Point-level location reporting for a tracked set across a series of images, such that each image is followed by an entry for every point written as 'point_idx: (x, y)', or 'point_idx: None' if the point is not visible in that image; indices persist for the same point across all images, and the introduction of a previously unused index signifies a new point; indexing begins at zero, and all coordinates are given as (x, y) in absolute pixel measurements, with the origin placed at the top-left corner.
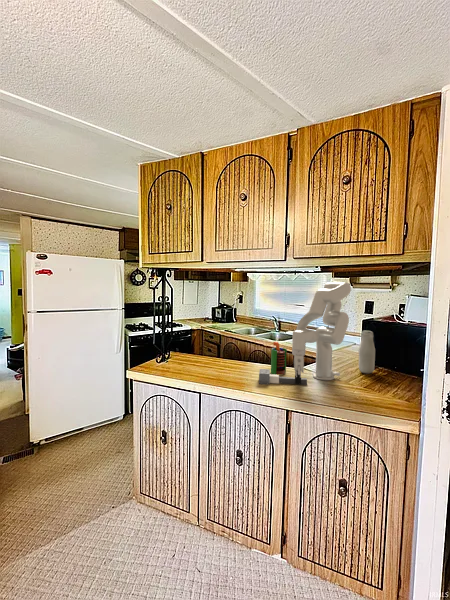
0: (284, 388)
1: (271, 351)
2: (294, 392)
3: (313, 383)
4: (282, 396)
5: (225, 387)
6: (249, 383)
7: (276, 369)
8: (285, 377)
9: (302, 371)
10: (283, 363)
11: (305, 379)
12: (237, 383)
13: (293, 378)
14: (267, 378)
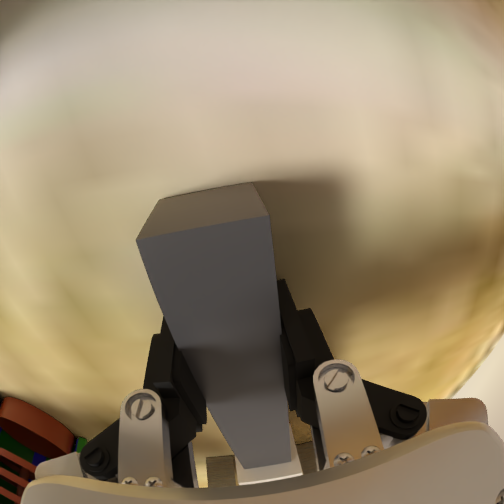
0: (401, 366)
1: None
2: (481, 286)
3: (124, 80)
4: (500, 324)
5: None
6: None
7: (21, 434)
8: (253, 449)
9: (493, 444)
10: (13, 476)
11: (267, 252)
12: None
13: (266, 407)
14: None
